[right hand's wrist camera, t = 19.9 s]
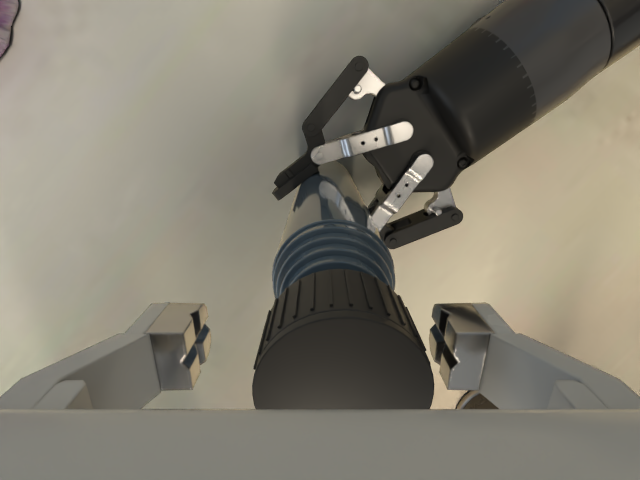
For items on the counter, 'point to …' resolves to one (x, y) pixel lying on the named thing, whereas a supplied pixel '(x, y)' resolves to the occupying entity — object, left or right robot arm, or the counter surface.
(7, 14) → the figurine
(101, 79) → the counter surface
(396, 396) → the cap
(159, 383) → the right robot arm
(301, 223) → the bottle
